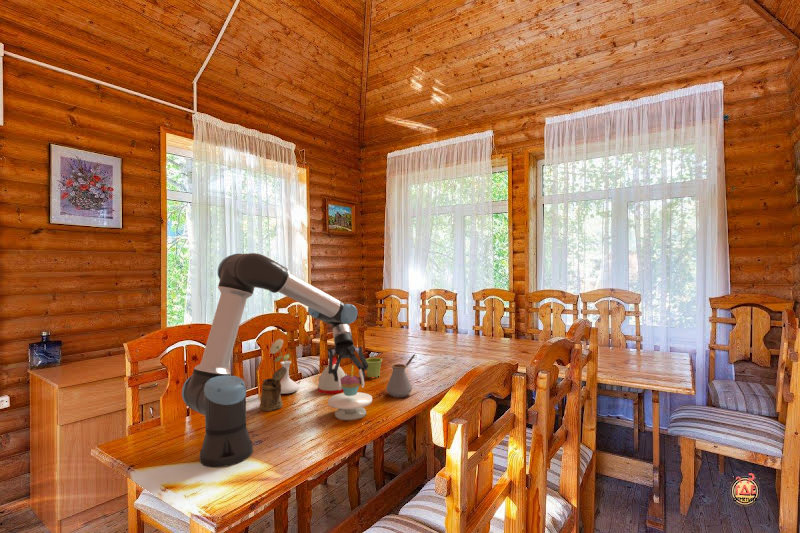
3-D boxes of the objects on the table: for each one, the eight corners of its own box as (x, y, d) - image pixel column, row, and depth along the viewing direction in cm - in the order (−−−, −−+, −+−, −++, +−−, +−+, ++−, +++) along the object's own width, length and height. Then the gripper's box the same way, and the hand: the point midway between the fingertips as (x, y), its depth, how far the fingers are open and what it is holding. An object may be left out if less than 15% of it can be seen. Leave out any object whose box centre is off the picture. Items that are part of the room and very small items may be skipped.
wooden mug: (274, 415, 161) (273, 369, 161) (255, 408, 169) (254, 364, 169) (293, 409, 168) (292, 364, 167) (274, 402, 176) (273, 360, 176)
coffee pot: (404, 400, 175) (403, 365, 175) (381, 396, 181) (380, 362, 181) (426, 387, 194) (426, 355, 194) (405, 383, 199) (404, 352, 199)
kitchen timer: (351, 385, 198) (351, 354, 198) (343, 394, 185) (342, 361, 185) (324, 384, 201) (323, 353, 201) (313, 393, 187) (312, 360, 187)
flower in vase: (291, 386, 198) (290, 334, 198) (304, 391, 190) (302, 337, 190) (265, 393, 189) (264, 338, 189) (277, 398, 181) (276, 341, 181)
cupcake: (365, 393, 160) (365, 362, 160) (348, 399, 154) (348, 367, 154) (351, 389, 166) (350, 359, 166) (334, 394, 160) (334, 363, 160)
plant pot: (382, 379, 208) (381, 362, 208) (363, 379, 208) (363, 362, 208) (383, 374, 217) (382, 357, 217) (365, 374, 218) (364, 358, 218)
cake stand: (360, 425, 149) (360, 408, 149) (319, 419, 155) (319, 403, 155) (379, 409, 165) (379, 394, 165) (342, 404, 171) (341, 390, 171)
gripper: (366, 341, 178) (376, 388, 163) (316, 345, 171) (323, 395, 156) (368, 330, 173) (380, 378, 158) (318, 334, 166) (324, 385, 151)
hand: (351, 386), depth 157 cm, fingers closed on cupcake, 8 cm apart
